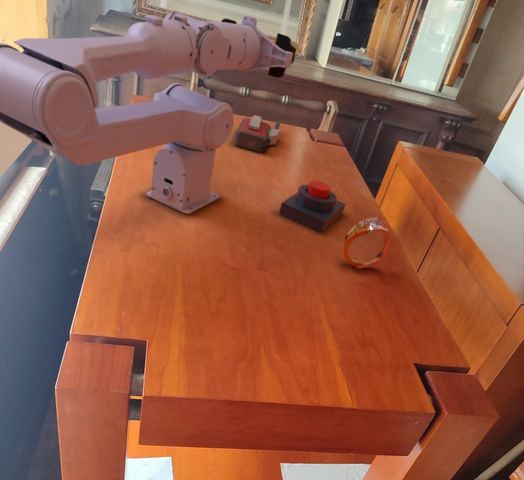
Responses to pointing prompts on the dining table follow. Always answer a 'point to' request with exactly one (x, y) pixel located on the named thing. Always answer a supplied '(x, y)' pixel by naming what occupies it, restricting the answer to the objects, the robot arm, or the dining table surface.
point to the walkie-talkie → (256, 134)
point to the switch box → (312, 209)
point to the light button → (318, 189)
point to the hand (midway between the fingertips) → (272, 49)
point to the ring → (353, 234)
